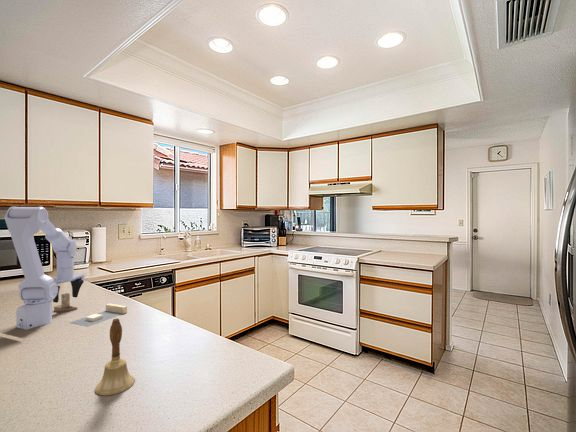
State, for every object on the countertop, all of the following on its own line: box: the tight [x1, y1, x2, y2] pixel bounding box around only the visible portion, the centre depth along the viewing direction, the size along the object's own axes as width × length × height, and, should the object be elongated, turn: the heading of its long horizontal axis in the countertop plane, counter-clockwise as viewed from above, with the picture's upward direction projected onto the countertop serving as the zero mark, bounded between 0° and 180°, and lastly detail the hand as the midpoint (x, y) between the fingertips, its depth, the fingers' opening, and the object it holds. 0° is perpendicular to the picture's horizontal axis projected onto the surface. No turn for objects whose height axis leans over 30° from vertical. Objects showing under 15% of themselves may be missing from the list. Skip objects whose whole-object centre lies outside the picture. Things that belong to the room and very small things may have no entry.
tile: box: [85, 313, 103, 321], centre depth 112 cm, size 4×4×1 cm
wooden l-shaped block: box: [53, 292, 78, 313], centre depth 124 cm, size 3×10×8 cm, turn 69°
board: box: [69, 303, 128, 328], centre depth 114 cm, size 16×10×4 cm, turn 159°
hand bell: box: [94, 318, 136, 396], centre depth 71 cm, size 8×8×16 cm
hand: (65, 299), depth 124 cm, fingers open, 7 cm apart
